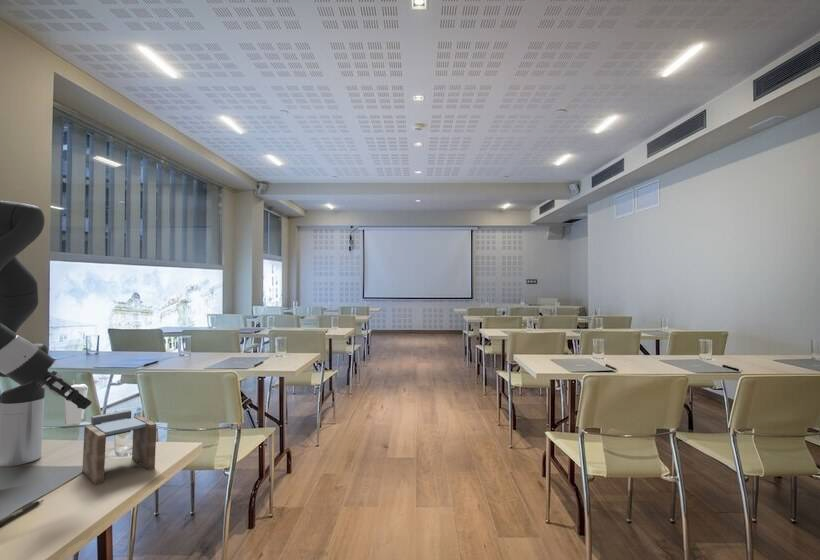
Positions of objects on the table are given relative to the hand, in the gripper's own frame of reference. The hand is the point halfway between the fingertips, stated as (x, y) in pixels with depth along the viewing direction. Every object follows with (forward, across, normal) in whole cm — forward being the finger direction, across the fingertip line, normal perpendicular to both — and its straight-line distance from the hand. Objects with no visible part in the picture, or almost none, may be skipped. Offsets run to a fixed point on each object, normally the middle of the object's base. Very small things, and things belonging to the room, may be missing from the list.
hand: (84, 404), depth 98 cm
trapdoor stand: (+21, +7, +8) cm, 24 cm away
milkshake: (+2, 0, +4) cm, 5 cm away
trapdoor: (+16, +9, +2) cm, 19 cm away
